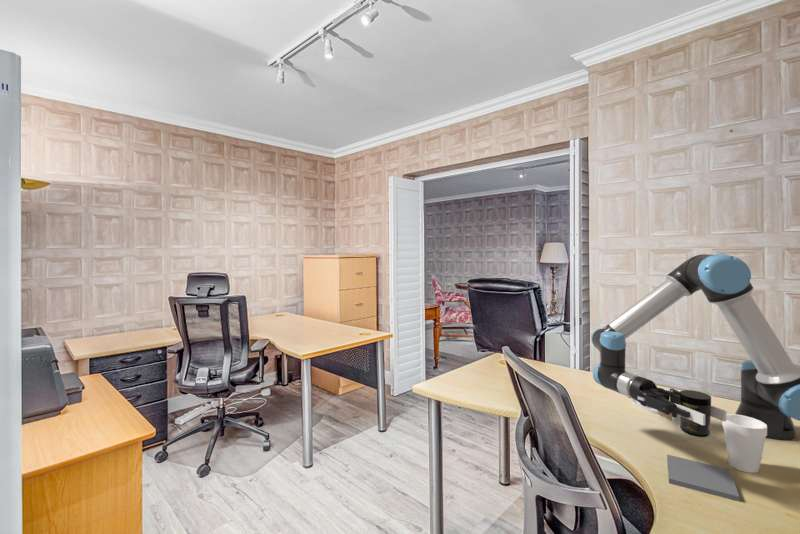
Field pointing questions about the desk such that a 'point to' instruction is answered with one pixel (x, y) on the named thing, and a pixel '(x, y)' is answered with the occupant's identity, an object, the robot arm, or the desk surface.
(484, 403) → the desk surface
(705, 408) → the supplement container
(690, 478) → the mat
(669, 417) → the record player
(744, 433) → the foam cup
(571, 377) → the desk surface
